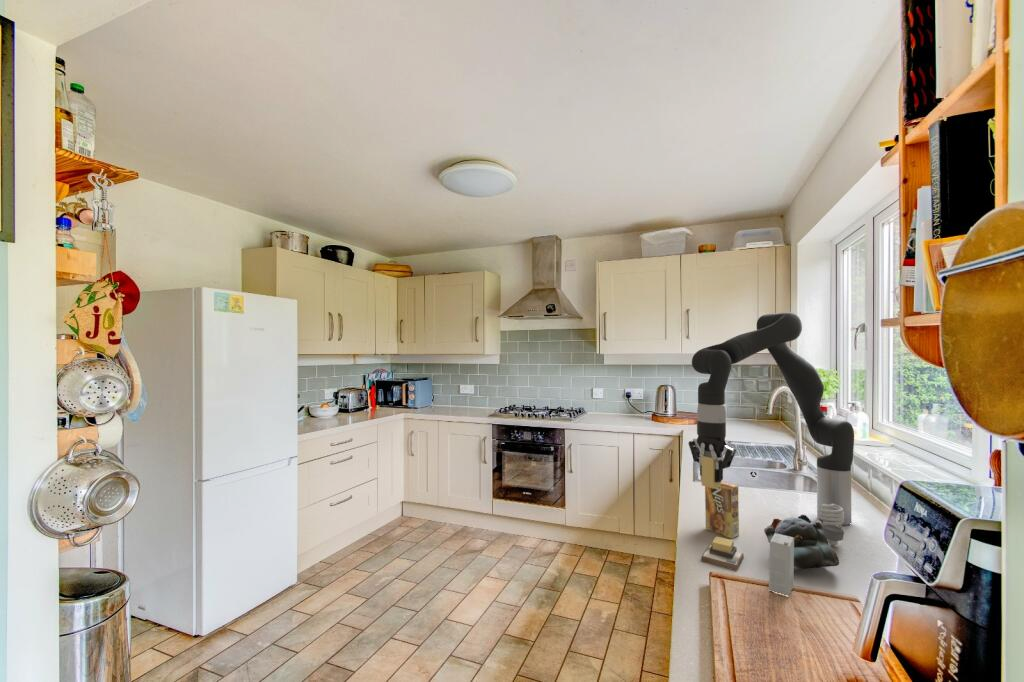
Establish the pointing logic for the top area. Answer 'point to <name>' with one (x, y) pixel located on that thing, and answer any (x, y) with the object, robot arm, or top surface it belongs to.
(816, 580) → the top surface
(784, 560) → the skincare box
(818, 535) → the lucky cat figurine
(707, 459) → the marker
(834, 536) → the light bulb
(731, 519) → the candy box
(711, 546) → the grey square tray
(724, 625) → the top surface
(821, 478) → the robot arm
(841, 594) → the top surface
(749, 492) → the top surface
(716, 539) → the ochre key
